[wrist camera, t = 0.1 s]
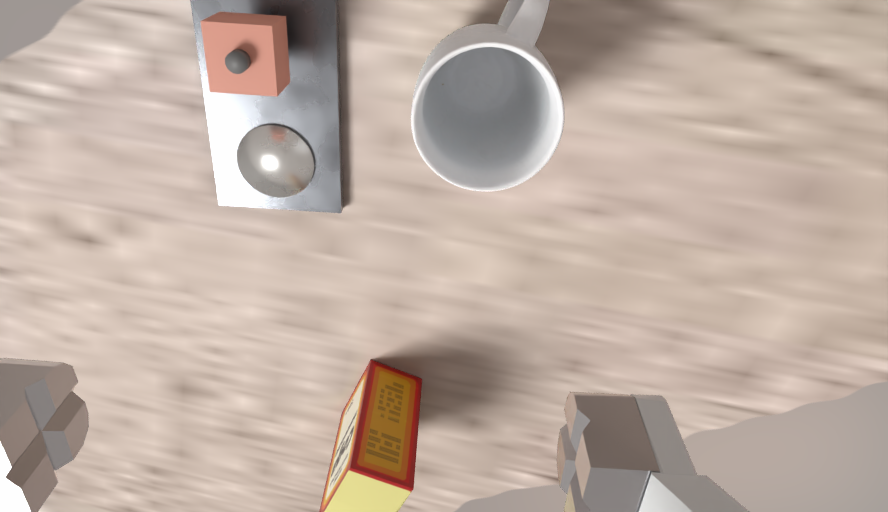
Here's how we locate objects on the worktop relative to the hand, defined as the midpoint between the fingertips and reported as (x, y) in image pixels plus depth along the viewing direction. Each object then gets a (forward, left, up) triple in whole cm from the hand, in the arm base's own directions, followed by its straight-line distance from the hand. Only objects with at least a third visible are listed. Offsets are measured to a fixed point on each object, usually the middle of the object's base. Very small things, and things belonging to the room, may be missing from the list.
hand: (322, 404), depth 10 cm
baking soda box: (+45, -4, -48) cm, 66 cm away
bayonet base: (+9, -14, -48) cm, 51 cm away
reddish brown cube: (+4, -14, -44) cm, 46 cm away
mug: (+5, +5, -48) cm, 49 cm away
